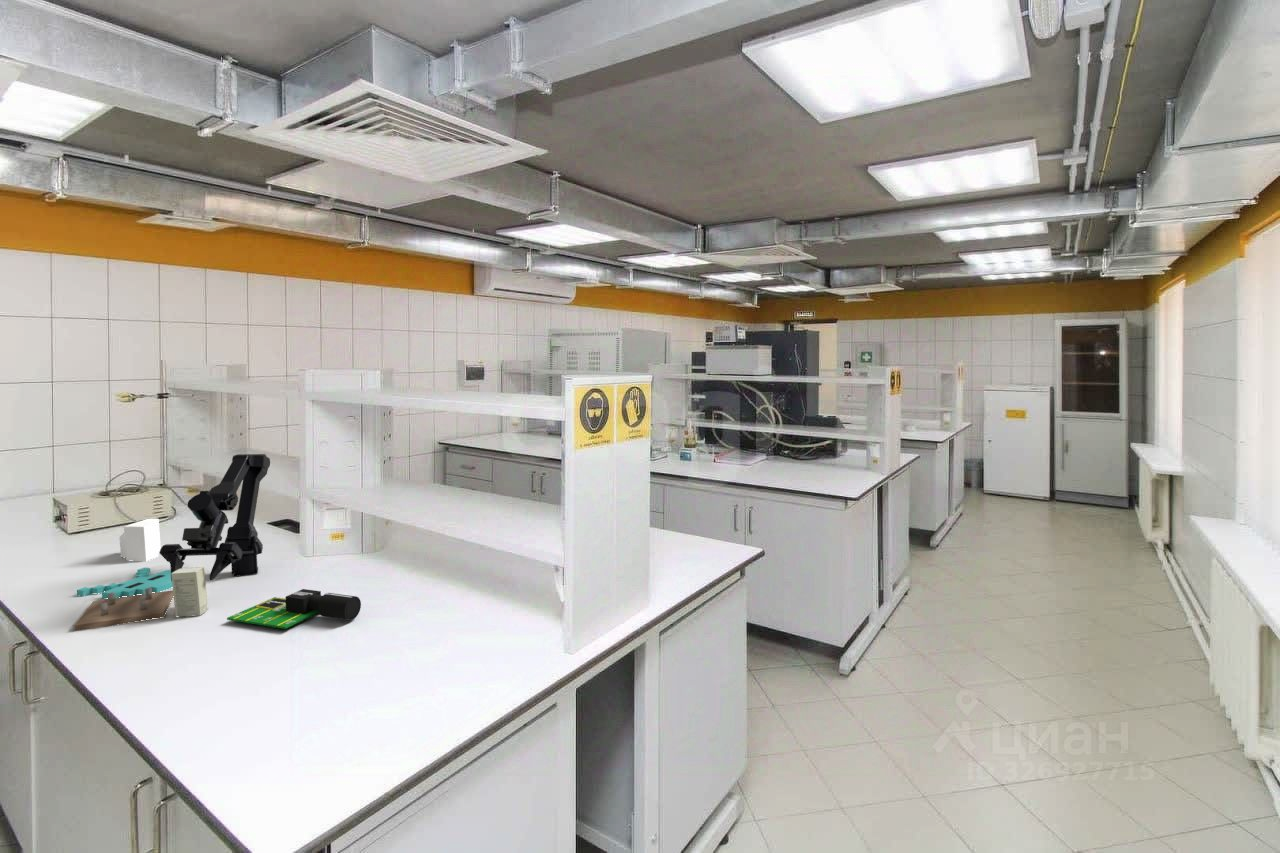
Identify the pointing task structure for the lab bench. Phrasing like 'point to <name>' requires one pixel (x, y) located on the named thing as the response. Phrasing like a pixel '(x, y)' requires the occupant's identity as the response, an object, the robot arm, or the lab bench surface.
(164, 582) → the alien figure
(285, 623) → the circuit board with cylinder
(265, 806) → the lab bench surface
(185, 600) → the skincare box
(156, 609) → the peg board
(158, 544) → the white boxy block
